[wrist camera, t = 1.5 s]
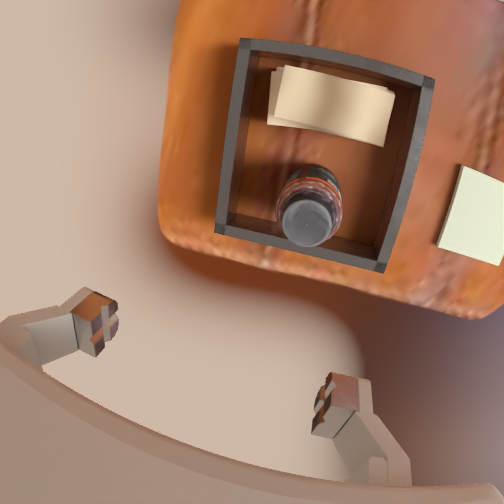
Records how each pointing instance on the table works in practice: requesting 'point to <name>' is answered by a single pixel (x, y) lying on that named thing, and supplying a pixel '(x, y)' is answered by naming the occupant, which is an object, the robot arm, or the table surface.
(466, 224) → the mat
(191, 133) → the table surface
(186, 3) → the table surface
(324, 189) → the supplement bottle
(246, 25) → the table surface
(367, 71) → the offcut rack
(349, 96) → the offcut stack
